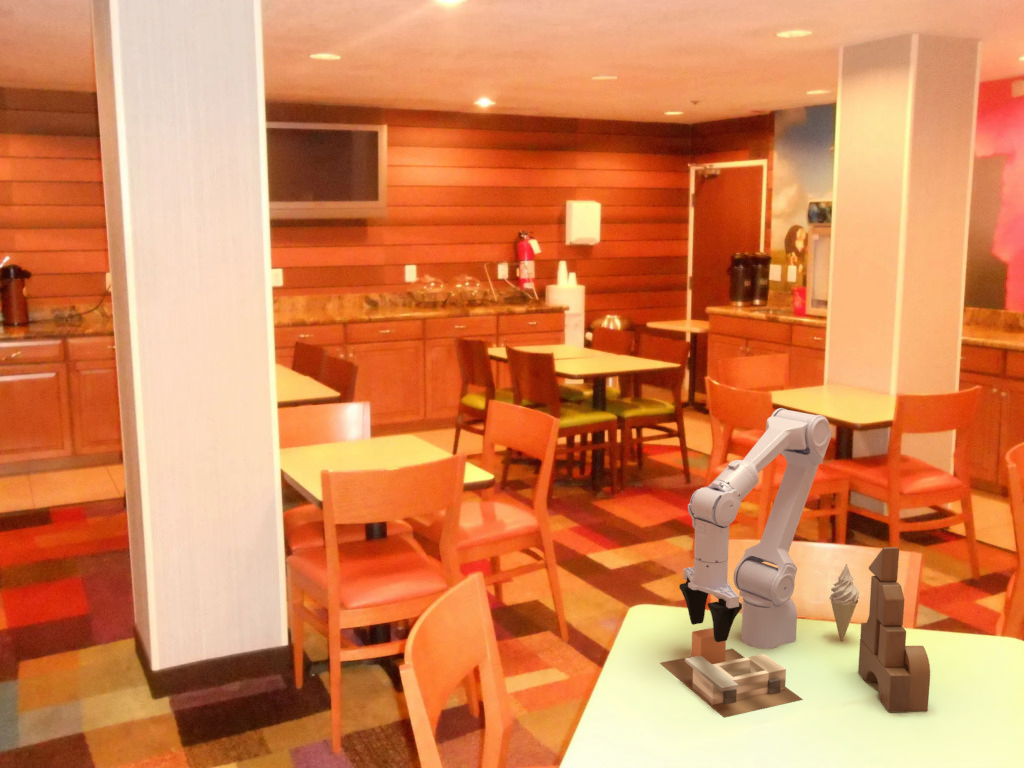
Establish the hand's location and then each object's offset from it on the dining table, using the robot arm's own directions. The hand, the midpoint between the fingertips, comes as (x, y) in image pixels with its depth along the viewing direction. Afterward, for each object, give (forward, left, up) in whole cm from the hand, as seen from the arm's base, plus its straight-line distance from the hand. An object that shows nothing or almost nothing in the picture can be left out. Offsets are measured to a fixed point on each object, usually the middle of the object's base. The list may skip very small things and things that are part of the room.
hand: (708, 631), depth 166 cm
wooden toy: (-24, +18, -7) cm, 31 cm away
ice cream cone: (-29, 0, -7) cm, 30 cm away
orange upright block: (0, 0, -6) cm, 6 cm away
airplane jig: (0, +7, -7) cm, 10 cm away
